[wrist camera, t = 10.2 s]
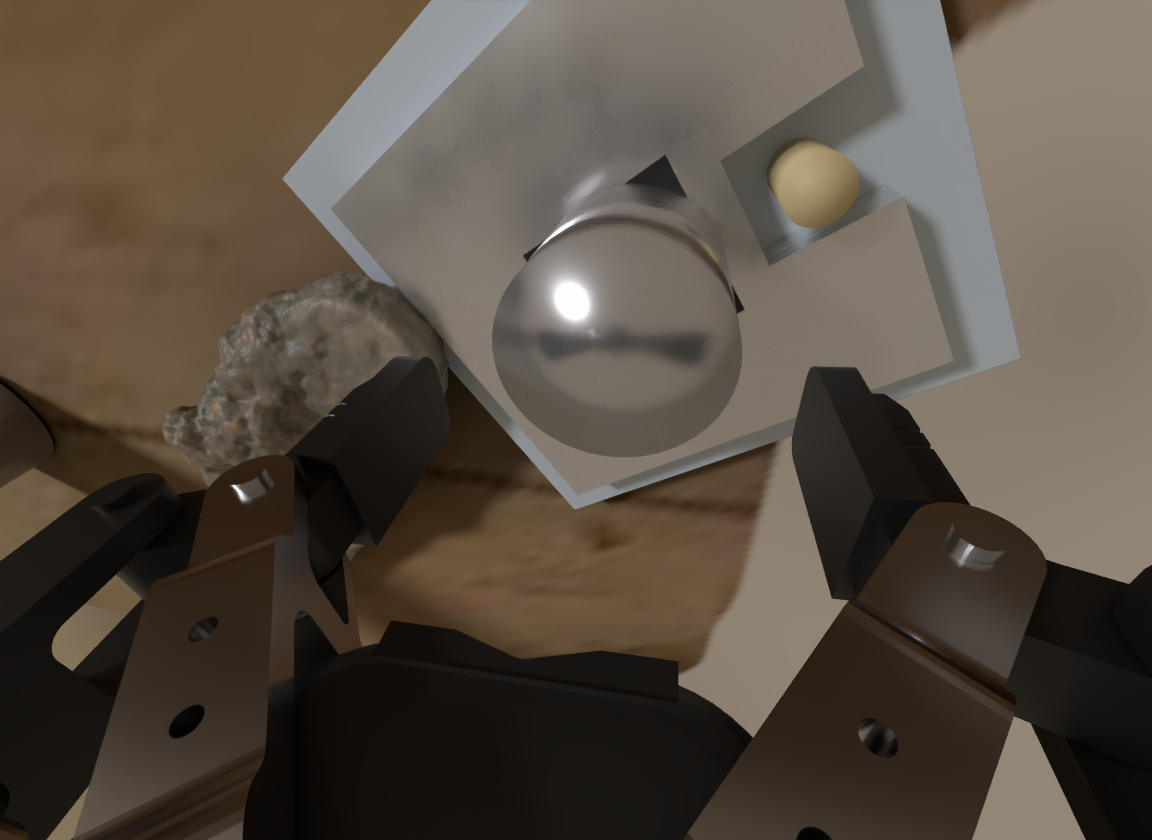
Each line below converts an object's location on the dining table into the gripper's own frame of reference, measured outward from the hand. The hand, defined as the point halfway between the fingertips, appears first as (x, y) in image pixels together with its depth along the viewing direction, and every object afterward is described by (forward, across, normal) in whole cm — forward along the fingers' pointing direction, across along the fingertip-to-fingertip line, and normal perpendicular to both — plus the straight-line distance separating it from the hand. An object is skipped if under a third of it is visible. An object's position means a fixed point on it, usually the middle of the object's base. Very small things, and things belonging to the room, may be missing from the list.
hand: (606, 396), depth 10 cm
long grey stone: (+8, +20, +13) cm, 25 cm away
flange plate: (+7, 0, 0) cm, 7 cm away
